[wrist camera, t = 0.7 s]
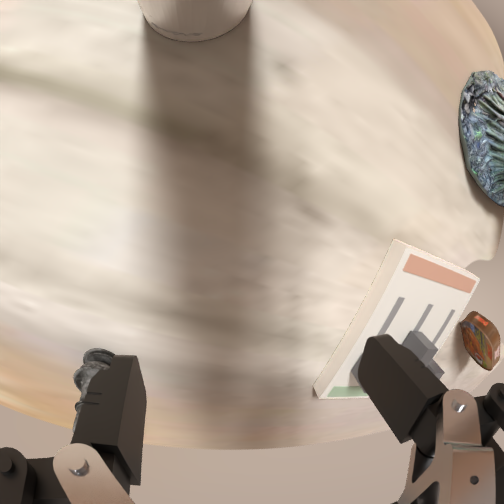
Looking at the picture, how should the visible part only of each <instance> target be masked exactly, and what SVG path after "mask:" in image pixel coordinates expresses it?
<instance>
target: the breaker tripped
mask: <svg viewBox="0 0 504 504" xmlns="http://www.w3.org/2000/svg"><path fill="white" fill-rule="evenodd" d="M402 346H404V347H406V348H408V349H409V350H411V351H412V352H413V353H414V354H415V355H416V356H417V357H418V358H419V361H420V360H421V361H422V362H423V363H424V364H425V367H427V366H428V364H429V363H430V361H431V360H432V359H433V357H434V356H435V354H436V353H437V351H438V348H437V347H436V346H435V345H434V344H433V343H432V342H431V341H430V340H429V339H428V338H427V337H426V336H425V335H424V334H423V333H422V332H419V331H410V333H409V335H408V336H407V338H406V339H405V341H404V343H403V344H402Z"/></svg>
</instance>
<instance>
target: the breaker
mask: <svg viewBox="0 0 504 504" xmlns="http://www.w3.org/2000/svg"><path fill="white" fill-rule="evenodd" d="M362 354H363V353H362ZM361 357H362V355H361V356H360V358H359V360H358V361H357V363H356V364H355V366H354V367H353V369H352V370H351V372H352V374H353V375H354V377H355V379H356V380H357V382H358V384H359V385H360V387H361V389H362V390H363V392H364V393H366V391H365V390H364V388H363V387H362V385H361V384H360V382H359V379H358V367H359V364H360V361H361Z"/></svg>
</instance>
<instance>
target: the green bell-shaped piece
mask: <svg viewBox="0 0 504 504" xmlns="http://www.w3.org/2000/svg"><path fill="white" fill-rule="evenodd" d="M474 103H476V106H474ZM473 107H474V109H475V110H476V111H475V113H474V112H473ZM458 121H459V131H460V139H461V144H462V148H463V153H464V158H465V163H466V168H467V170H468V171H469V173H470V174H471V176H472V177H473V179H474V180H475V182H476V183H477V184H478V186H479V187H480V188H481V189H482V191H483V192H484V193H485V194H486V195H487V196H488V197H489V198H490V199H492V200H493V201H494V202H495V203H497V204H498V205H500V206H503V207H504V80H503V79H502V78H499V77H498V76H497V75H496V74H494V72H492V71H480V72H473V73H472V74H471V76H470V78H469V80H468V81H467V83H466V85H465V87H464V89H463V91H462V93H461V100H460V105H459V119H458Z"/></svg>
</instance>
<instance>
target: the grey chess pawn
mask: <svg viewBox="0 0 504 504" xmlns="http://www.w3.org/2000/svg"><path fill="white" fill-rule="evenodd" d="M114 355H115V354H113V353H112V352H110V351H107V350H104V349H99V348H94V349H90V350H88V351H87V352H86V353H85V354H84V357H83V362H84V365H83V366H81V367H80V369H78V370H77V371H76V372H75V373H74V383H75V385H76V387H77V388H78V389H79V390H80V391H81V392H82V393H81V397H80V401H79V402H77V403H76V404H75V410H76V411H77V414H76V418H75V421H74V425H73V433H74V431H75V427H76V424H77V420H78V417H79V414H80V410H81V407H82V404H83V403H84V402H83V401H84V398H85V395H86V394H87V392H86V391H87V388H88V385H89V383H90V380H91V379H92V377H93V376H94V375H95V374H96V373H97V372H98V371H99V370H109V367H110V364H111V361H112V358H113V356H114Z"/></svg>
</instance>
